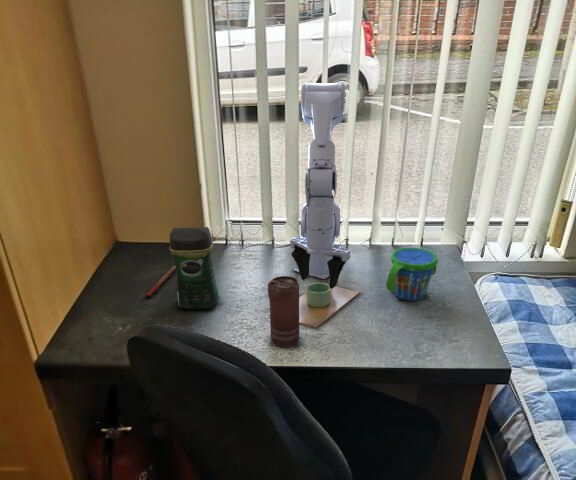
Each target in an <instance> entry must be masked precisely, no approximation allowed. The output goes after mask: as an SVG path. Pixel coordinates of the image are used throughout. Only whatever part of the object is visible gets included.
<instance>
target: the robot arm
mask: <svg viewBox="0 0 576 480" xmlns="http://www.w3.org/2000/svg"><path fill="white" fill-rule="evenodd" d="M300 88H301V91H300V108H301V109H300V110H301V118H302V120H303V123H304V124H306V125H308V126H310V128H311V131H312V134H313V139H312V140H311V141H310V142H309V144H308V149H307V171H305V174H304V176H305V177H304V194H305V203H304V204H302V207H301V214H300V236H299V237H298V236H294V237H293V238H291V239H290V240H289V245H290V246H289V247H290V249H293V250H292V251H291V257H292V258H293V260H294V261H295V268H294V272H297V273H299V274H300V275H299V276H300V278H301V281H305V280H307V279H308V278H309V276H311V277H315V278H318V279H322V280H326V279H328V278H329V279H328V284H329V286H330V288H334V287H335V286H338V281H339V278H340V275H341V272H342V270H343V268H344V267H345V265H346V263H347V261H349V260H350V259H351V250H350V249H347V248H344V247H342V246H340V245H338V244H336V243H335V241H336V239H338V238H339V237H340V234H341V208H340V205H339V204H337V203H336V202H335V198H336V196H337V185H338V180H337V179H338V173H337V167H336V145H335V143H334V142H333V141H332V133H333V131H334V128H335V126H337V125H339V124H342V122H343V119H344V113H345V112H344V111H345V105H346V85H345V84H344V82H321V83H320V82H318V83H316V82H314V83H312V82H308V83H307V82H303V83H302V84H301V87H300ZM333 193H334V194H333Z"/></svg>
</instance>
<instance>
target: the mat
mask: <svg viewBox="0 0 576 480" xmlns="http://www.w3.org/2000/svg"><path fill="white" fill-rule="evenodd" d="M319 283H325V284H328V285H329V283H326V282H324V281H323V282H322V281H320V282H319ZM359 295H360V292H359V291H356V290H352V289H348V288H344V287H341V286H338V285H336V286H335V287H334V288H331V298H330V303H329V304H328V305H327V306H325V307H321V308H316V307H312V306H311V305H309V304H308V303H307V291H305V292H304V293H303V294H302V295H299V325H303V326H306V327H308V328H312V329H315V330H317V329H318V328H319V327H321V325H323V324H324V323H325V322H327V321H328V320H329V319H330V318H332V316H334V315H336V313H337V312H339V311H340V310H341V309H343V307H345V306H347V304H348V303H350V302H351V301H352V300H353V299H355V298H356V297H357V296H359Z"/></svg>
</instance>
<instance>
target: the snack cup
mask: <svg viewBox="0 0 576 480" xmlns="http://www.w3.org/2000/svg"><path fill="white" fill-rule="evenodd" d="M390 261H391V263H392V265H391V267H390V270H389V272H388V275H387V279H386V283H385V287H386V289H387V290H388V291H389V292H391V293H394V295H395V296H396V297H397V298H398V299H399V300H404V301H411V302H412V301H413V302H416V301H420V300H423V298H424V297H425V296H426V294H427V291H428V289H429V285H430V282H431V279H432V275H433V276H434V275H435V274H436V273H437V264H438V263H439V259H438V257H437V255H436V253H434V252H433V251H431V250H428V249H425V248H420V247H403V248H398V249H396V250H394V251H393V252H392V253H391V254H390Z"/></svg>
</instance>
